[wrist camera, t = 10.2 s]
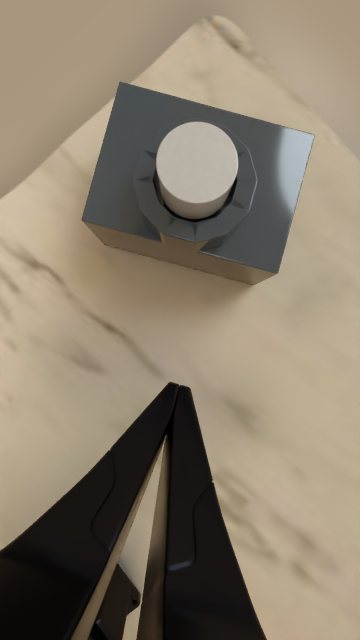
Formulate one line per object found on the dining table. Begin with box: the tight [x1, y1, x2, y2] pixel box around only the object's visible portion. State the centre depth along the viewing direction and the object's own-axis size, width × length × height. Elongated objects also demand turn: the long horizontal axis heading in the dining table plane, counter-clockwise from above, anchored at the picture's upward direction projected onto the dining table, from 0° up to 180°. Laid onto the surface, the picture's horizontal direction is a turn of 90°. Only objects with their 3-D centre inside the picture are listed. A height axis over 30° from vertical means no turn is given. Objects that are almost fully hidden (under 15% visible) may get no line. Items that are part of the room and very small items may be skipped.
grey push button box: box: [82, 82, 314, 285], centre depth 17 cm, size 10×14×7 cm
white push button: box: [156, 122, 238, 219], centre depth 13 cm, size 4×4×2 cm
